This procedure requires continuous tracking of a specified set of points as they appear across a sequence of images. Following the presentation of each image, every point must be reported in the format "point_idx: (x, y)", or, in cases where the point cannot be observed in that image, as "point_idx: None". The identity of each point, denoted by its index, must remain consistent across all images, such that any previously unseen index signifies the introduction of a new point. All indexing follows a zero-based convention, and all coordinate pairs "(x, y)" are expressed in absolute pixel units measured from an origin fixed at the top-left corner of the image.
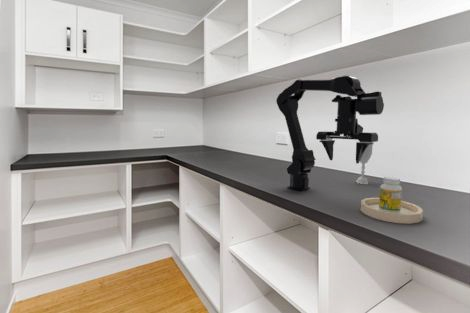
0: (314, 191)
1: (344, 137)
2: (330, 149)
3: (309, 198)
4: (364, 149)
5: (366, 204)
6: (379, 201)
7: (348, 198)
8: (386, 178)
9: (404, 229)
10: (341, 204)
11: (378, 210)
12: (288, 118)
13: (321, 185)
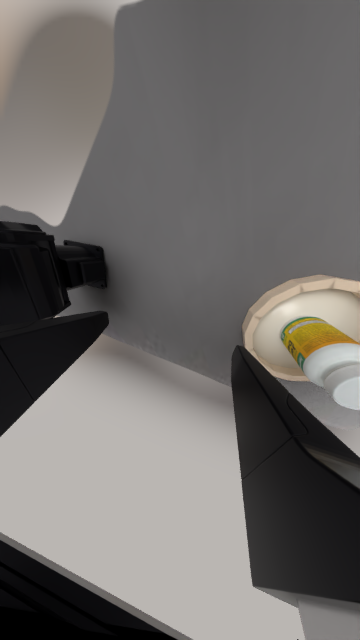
0: (124, 265)
1: (13, 614)
2: (50, 360)
3: (146, 323)
4: (321, 444)
5: (256, 355)
6: (285, 344)
7: (206, 273)
8: (339, 403)
9: (309, 385)
10: (205, 325)
11: (277, 376)
12: None
13: (93, 168)
